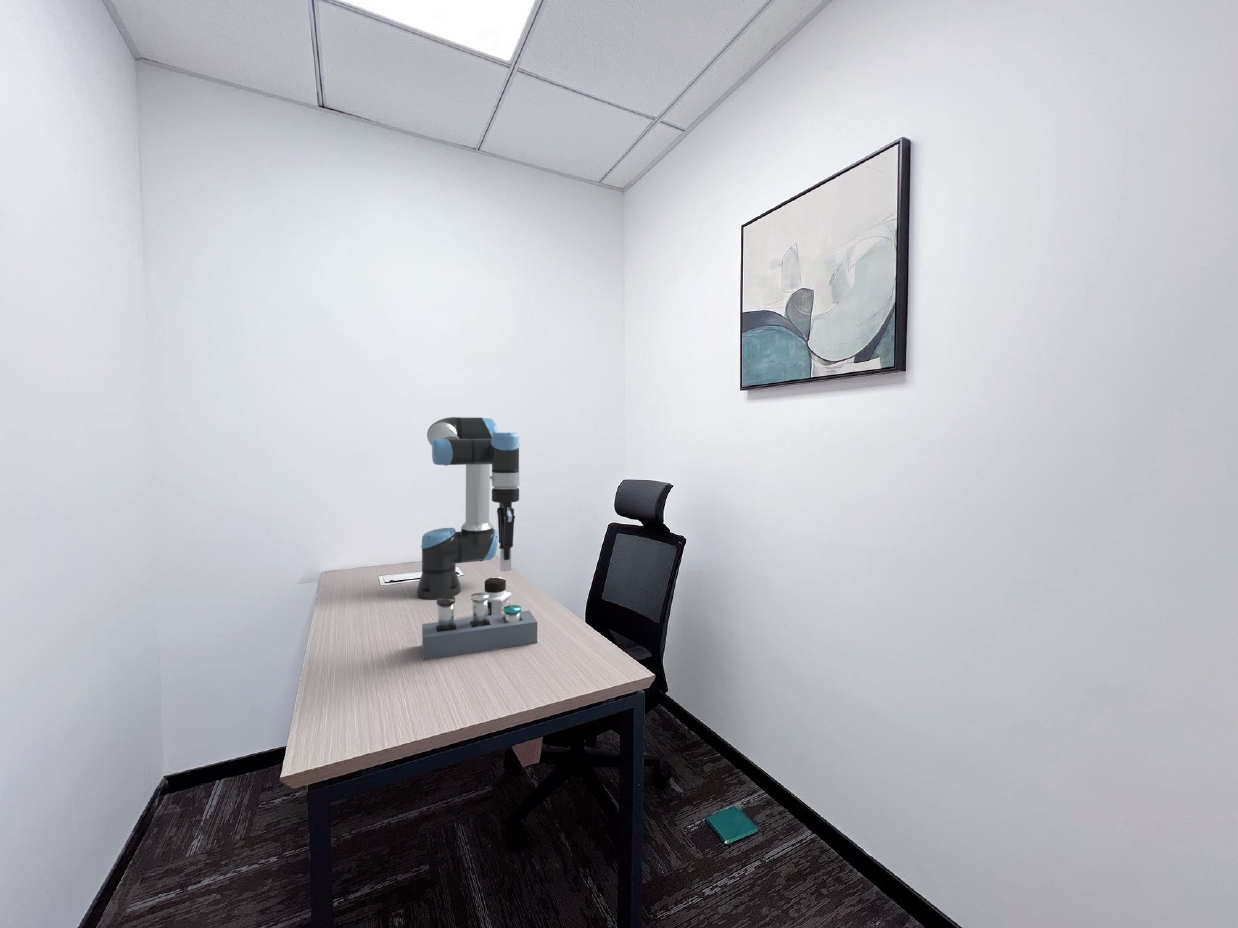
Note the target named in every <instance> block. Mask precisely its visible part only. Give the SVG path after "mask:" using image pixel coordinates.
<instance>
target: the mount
mask: <svg viewBox="0 0 1238 928" xmlns="http://www.w3.org/2000/svg"><path fill="white" fill-rule="evenodd" d="M421 634H422V636H421V638H422V642H421V643H422V644H421V645H422V646H421V647H422V656H423V657H422V658H423V661H427V660H435V659H440V658H447V657H453V656H458V655H460V656H461V655H466V654H474V653H478V652H479V653H480V652H486V651H492V650H498V649H499V650H500V649H507V648H512V647H518V646H527V645H532V644H537V643H538V621H537V619H536V618H535V617H534V615H533V614H532V611H530V610H523V611H522V610H521V612H520V621H516V622H509V623H505V614H497V615H490V616H488V625H486V626H479V627H474V626H473V617H466V618H460V619H454V629H453V630H449V631H442V632H440V631H439V630H438V621H435V622H428V623H422V624H421Z"/></svg>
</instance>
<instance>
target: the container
mask: <svg viewBox="0 0 1238 928" xmlns="http://www.w3.org/2000/svg"><path fill="white" fill-rule="evenodd" d="M506 581H507V580H506V579H505V578H503V577H502V576H501V577H500V576H493V577H488V578H487V579H485V580H484V593H488V594H489V599H488V600H487V602H488V616H490V615H497V614H505V613H504V607H506V606H509V605H512V592H509V591H508V592H507V585H506V584H507V583H506Z"/></svg>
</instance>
